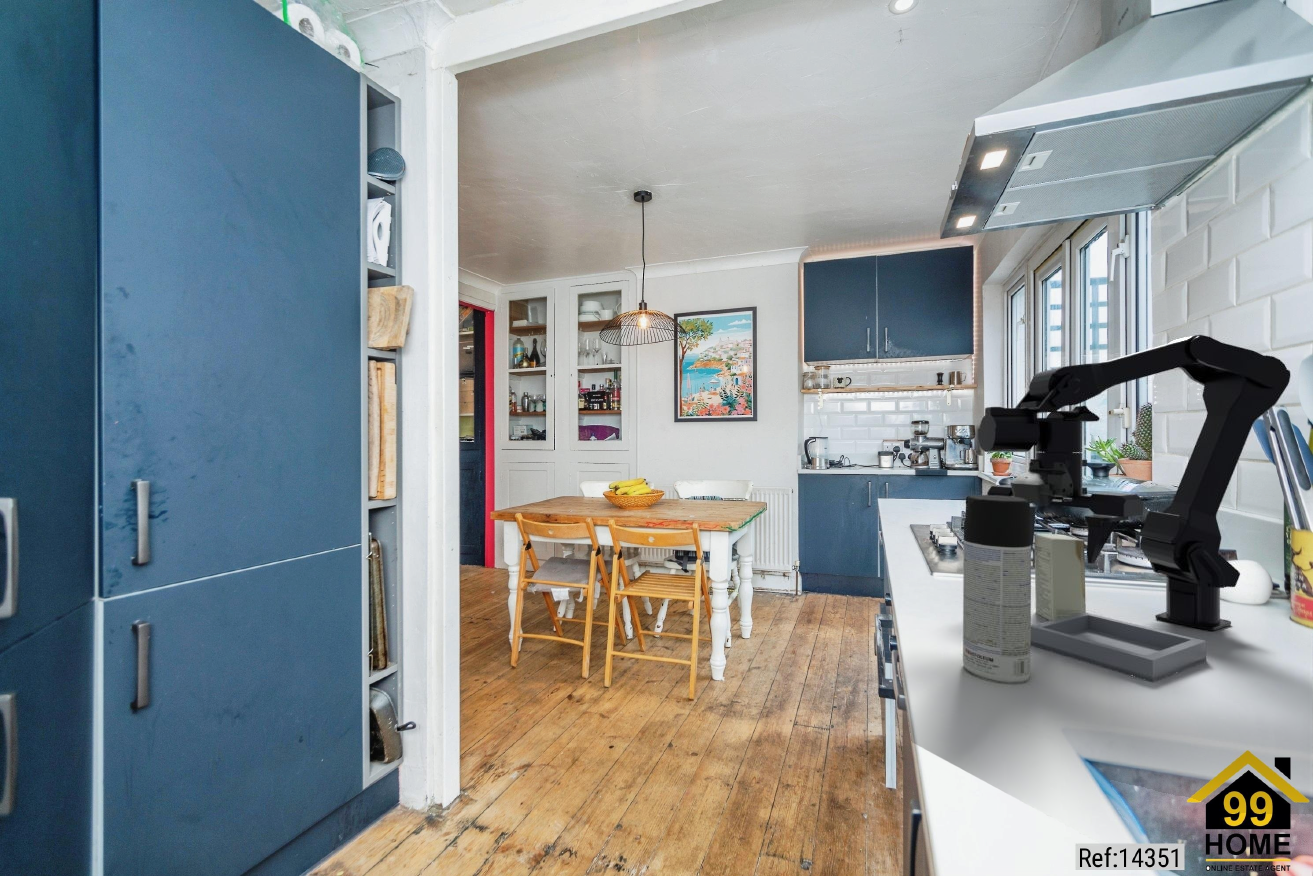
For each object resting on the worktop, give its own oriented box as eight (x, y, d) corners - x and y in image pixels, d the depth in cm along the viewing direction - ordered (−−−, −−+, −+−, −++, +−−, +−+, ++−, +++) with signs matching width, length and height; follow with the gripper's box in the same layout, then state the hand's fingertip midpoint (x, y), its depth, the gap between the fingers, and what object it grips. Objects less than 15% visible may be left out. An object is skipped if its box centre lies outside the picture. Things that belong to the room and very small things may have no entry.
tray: (1084, 630, 80) (1084, 612, 80) (1206, 662, 69) (1206, 641, 69) (1029, 645, 74) (1029, 626, 74) (1152, 683, 63) (1152, 660, 63)
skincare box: (1087, 626, 82) (1087, 540, 82) (1053, 624, 83) (1053, 539, 83) (1065, 613, 88) (1064, 533, 88) (1033, 611, 89) (1033, 532, 89)
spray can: (1022, 666, 67) (1021, 495, 68) (1039, 689, 61) (1039, 501, 61) (958, 659, 70) (958, 493, 70) (968, 681, 63) (968, 499, 63)
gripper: (964, 451, 90) (964, 551, 90) (1101, 454, 73) (1101, 577, 73) (1008, 451, 95) (1007, 545, 95) (1145, 454, 79) (1144, 568, 79)
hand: (1058, 557), depth 85 cm, fingers open, 8 cm apart
